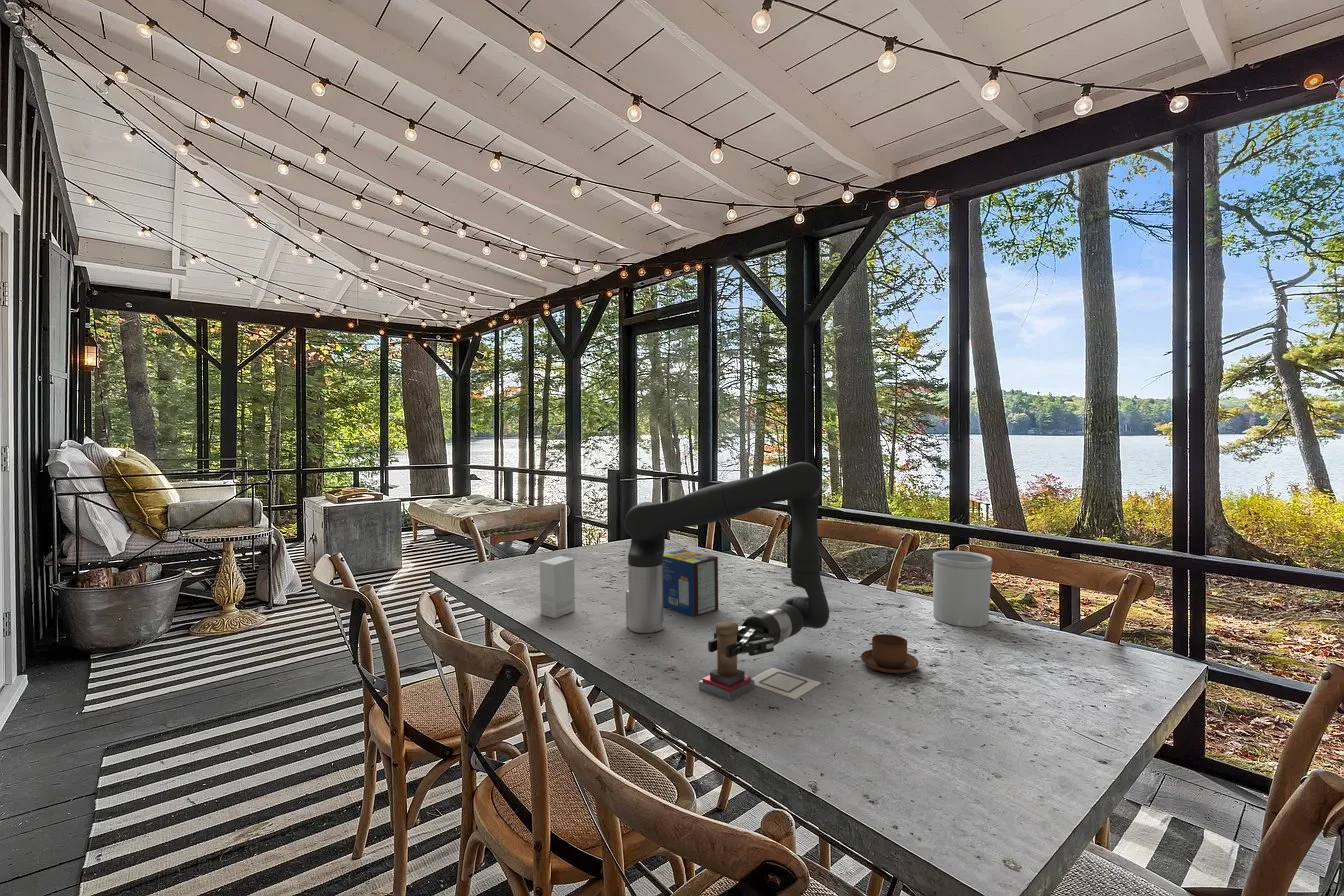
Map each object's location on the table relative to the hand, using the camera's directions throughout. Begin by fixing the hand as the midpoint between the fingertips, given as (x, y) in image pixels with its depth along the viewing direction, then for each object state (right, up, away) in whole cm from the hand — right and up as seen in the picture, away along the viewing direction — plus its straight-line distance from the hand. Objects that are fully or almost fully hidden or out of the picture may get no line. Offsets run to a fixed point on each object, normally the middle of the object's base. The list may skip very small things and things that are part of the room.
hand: (718, 649), depth 123 cm
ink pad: (+2, -9, +2) cm, 9 cm away
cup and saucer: (+39, -8, +13) cm, 42 cm away
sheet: (+14, -9, +5) cm, 17 cm away
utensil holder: (+70, -7, +45) cm, 84 cm away
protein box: (-5, -7, +58) cm, 59 cm away
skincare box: (-42, -7, +53) cm, 68 cm away
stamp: (+2, -6, +2) cm, 7 cm away
